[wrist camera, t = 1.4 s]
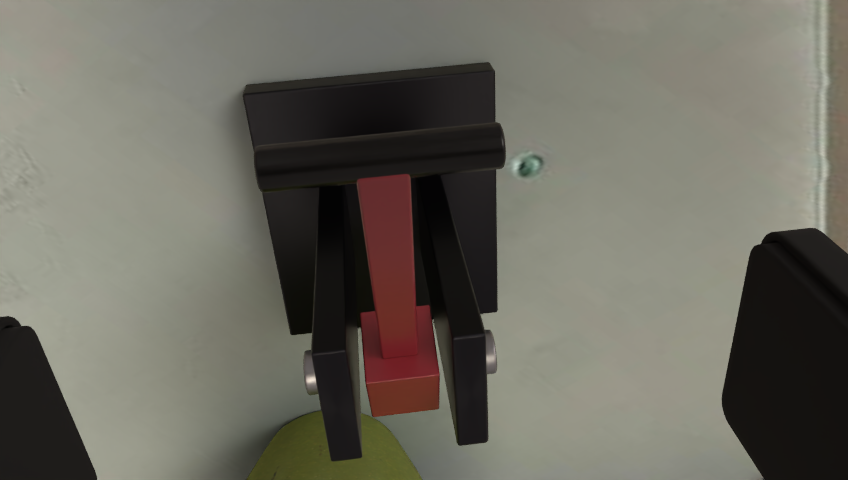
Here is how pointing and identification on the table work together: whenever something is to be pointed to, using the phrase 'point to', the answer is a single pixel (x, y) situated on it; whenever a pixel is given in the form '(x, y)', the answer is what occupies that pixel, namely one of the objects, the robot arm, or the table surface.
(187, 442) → the table surface
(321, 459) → the flower pot
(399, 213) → the switch lever
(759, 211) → the table surface
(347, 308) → the switch bracket
